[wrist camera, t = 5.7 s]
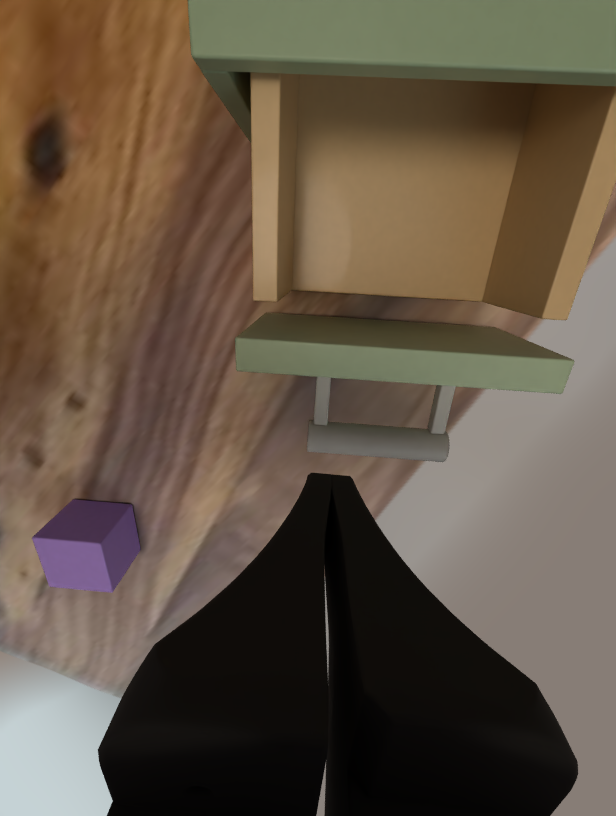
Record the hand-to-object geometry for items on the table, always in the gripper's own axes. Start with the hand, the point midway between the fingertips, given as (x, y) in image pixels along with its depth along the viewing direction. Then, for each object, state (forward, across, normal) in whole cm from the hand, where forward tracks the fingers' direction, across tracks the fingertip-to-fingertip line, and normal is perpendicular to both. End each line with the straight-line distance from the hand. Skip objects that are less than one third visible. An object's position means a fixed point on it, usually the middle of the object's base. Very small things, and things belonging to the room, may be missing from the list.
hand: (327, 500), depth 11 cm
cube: (+9, +15, +11) cm, 21 cm away
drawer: (+8, -2, -7) cm, 11 cm away
